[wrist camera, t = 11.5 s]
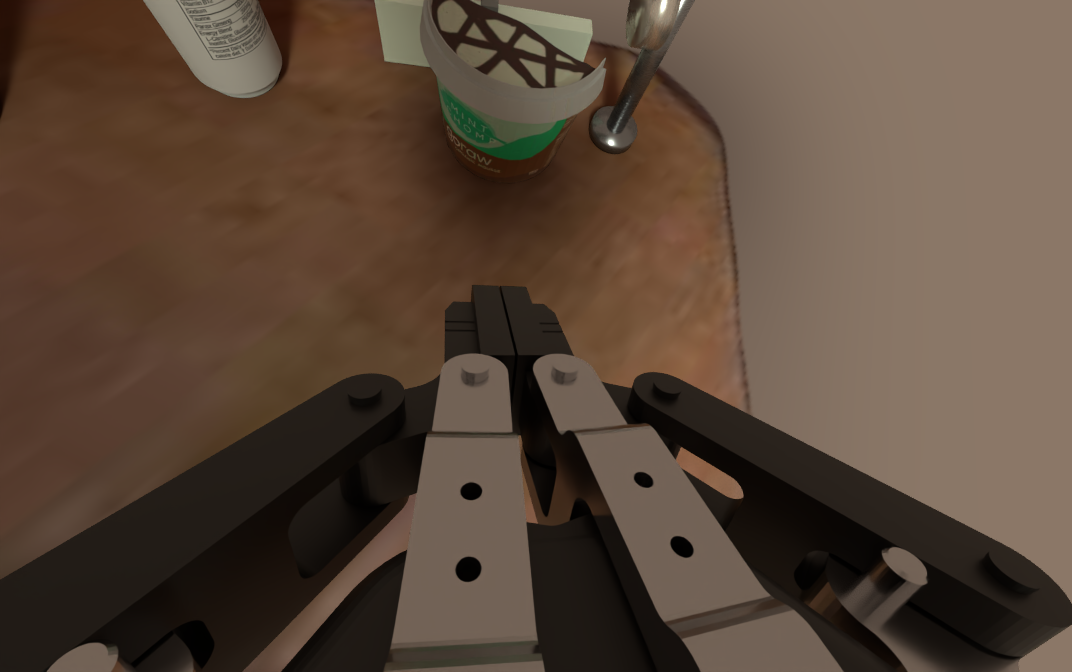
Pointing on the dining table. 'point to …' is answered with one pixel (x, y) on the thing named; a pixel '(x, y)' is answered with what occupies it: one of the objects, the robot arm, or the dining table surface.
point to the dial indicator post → (638, 68)
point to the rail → (404, 7)
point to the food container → (502, 89)
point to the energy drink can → (223, 43)
